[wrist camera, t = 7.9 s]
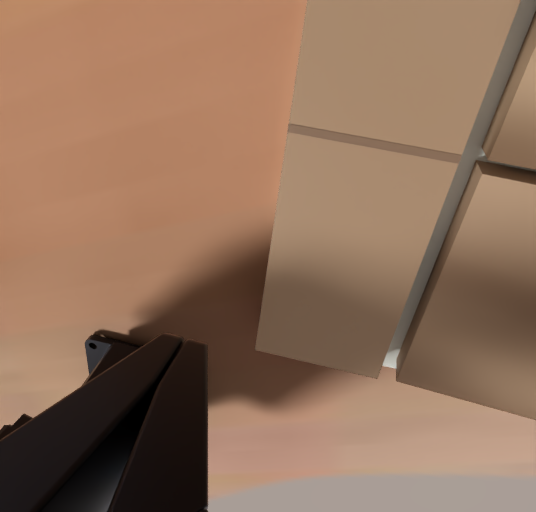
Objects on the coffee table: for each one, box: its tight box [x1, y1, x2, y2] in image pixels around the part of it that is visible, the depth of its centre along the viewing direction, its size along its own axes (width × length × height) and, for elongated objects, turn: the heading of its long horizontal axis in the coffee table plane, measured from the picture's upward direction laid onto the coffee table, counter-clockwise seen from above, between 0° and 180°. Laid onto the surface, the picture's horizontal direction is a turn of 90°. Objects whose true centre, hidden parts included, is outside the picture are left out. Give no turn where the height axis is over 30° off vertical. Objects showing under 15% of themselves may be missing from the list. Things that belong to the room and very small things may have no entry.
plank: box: [396, 160, 536, 420], centre depth 18 cm, size 10×8×2 cm
